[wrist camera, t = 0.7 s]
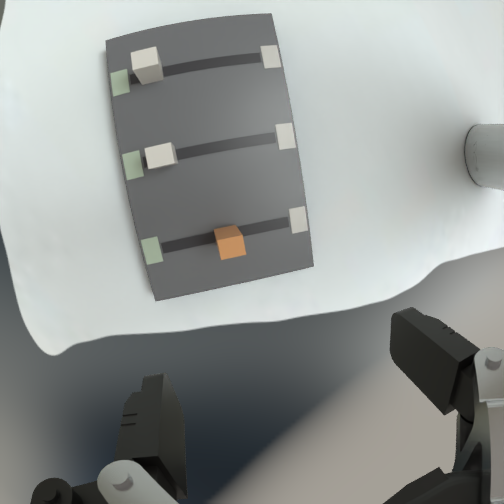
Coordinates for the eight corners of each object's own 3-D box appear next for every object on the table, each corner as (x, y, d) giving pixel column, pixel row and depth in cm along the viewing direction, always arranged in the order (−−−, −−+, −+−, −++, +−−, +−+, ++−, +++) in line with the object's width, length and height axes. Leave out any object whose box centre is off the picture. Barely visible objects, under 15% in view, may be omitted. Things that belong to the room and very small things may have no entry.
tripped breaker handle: (235, 224, 29) (242, 235, 25) (238, 241, 29) (246, 254, 25) (213, 229, 29) (217, 240, 24) (217, 246, 29) (221, 260, 25)
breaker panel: (265, 23, 26) (284, -9, 20) (305, 259, 34) (333, 283, 27) (111, 48, 25) (91, 21, 18) (158, 291, 32) (150, 324, 25)
